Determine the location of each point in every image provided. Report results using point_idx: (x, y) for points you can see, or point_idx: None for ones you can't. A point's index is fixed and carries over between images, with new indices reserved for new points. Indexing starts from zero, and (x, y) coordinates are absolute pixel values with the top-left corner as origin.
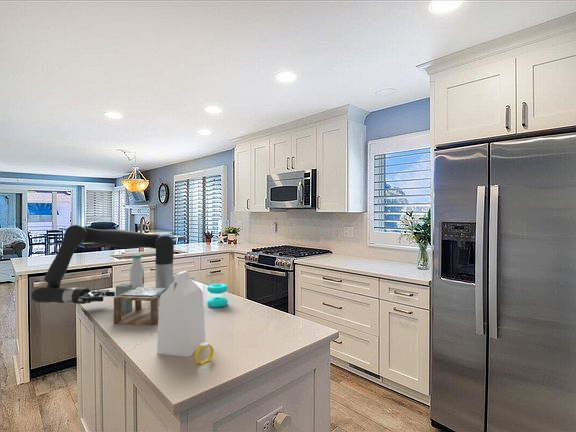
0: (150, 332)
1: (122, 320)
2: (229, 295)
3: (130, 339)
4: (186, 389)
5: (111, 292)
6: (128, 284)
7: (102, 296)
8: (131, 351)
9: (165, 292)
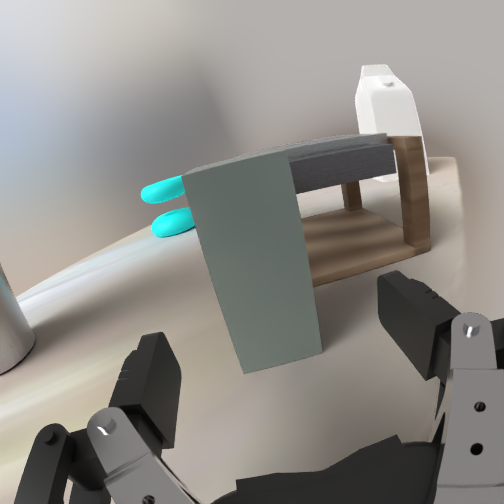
0: (393, 198)
1: (403, 238)
2: (100, 251)
3: (439, 194)
4: (440, 158)
5: (158, 354)
6: (204, 166)
7: (384, 274)
8: (454, 181)
9: (404, 86)
